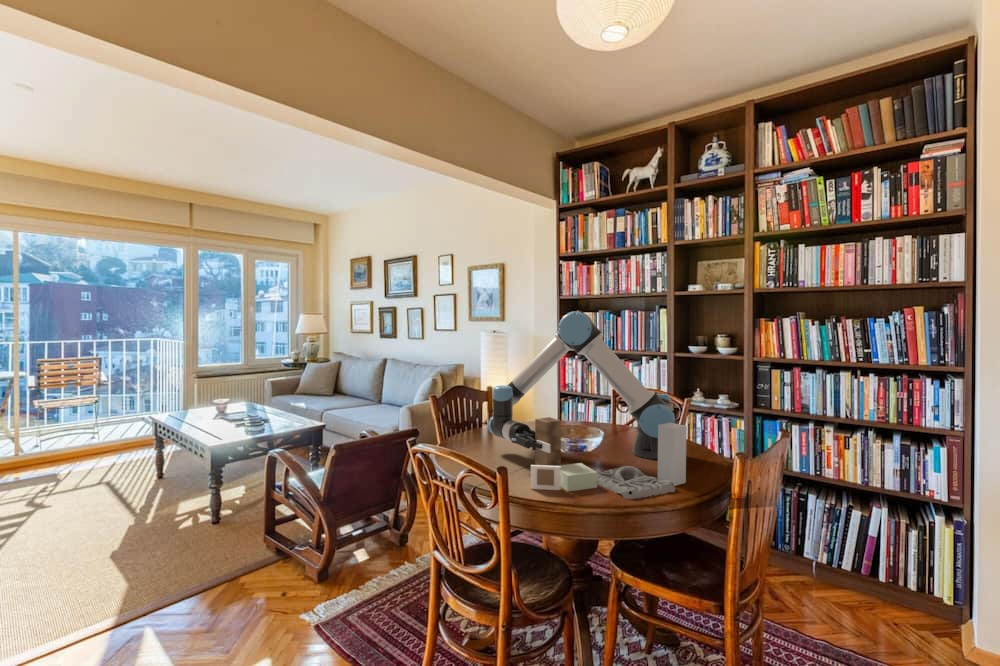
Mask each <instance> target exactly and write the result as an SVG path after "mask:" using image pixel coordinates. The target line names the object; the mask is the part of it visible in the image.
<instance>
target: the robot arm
mask: <svg viewBox="0 0 1000 666" xmlns="http://www.w3.org/2000/svg"><path fill="white" fill-rule="evenodd" d="M557 328H558V330H557V331H556V332H555V333H554V334H555V336H554V338H552V339H551V341H549V342H548V344H547V345H545V346H544V348H543V349H542V350H541V351H540V352H538V354H536V356H535V357H534V358H533V359H531V361H530V362H528V364H527V365H526V366H525V367H524V368H523V369H522V370H521V371H520V372H519V373H518V374H516V376H515V377H514V378H513V379H512V380H511V381H510V383H508V384H507V385H496V386H494V387H493V389H492V416H491V417H490V418H489V420H488V423H487V429H488V431H489V433H491V434H492V435H494V436H495V437H498V438H501V439H504V440H506V441H509V442H511V443H512V444H517V445H519V446H521V447H523V448H525V449H528V450H529V449H531V448H532V449H531V451H535V450H536V448H537V449H539V450H542V451H545V452H547V453H551V444H548V443H545V442H543V441H540V440H535V430H534V429H533V430H532V429H531V428H530V426H529V425H528V424H525V423H524V422H520V421H516V420H514V419H513V406H515V405H516V404H517V403H519V401H521V399H522V398H524V396H525V395H526V394H527V393H528V392H529V391H530V390H531V389H532V388H533V387H534V386H535V385H536V384H537V383H538V382H539V381H540V380H541V379H542V378H544V376H545V375H547V373H548V372H549V371H550V370H551V369H552V368H553V367H554V366H555V365H556V364H557V363H558V362H560V361H561V359H562V358H563V357H564V356H565V355H566V354H567V353H568V352H569V351H573V352H575V353H576V355H583V356H584V357H585V358H586V359H587V361H589V363H590V364H591V365H592V366H593V367H594V368H595V369H596V370H597V371H598V373H599V374H600V375H601V376H602V377H603V378H604V380H605V381H606V382H607V383H608V384H609V385H610V386H611V388H613V390H614V391H615V392H616V393H617V394H618V396H619V397H621V399H622V400H623V401H624V402H625V403H626V404H627V406H628V413H629V414H630V415H631V416H632V418H634V420H635V421H636V422H637V434H636V436H635V439H634V442H633V444H632V445H633V446H632V454H633V455H635V456H638V457H640V458H644V459H651V460H658V425H659V424H665V423H670V422H671V423H675V424H676V416H675V413H674V412H673V410H672V409H671V403H672V402H671V396H670V394H666V393H664V394H663V393H657V392H656V391H655V390H648V389H647V387H645V385H644V384H643V383H642V382H641V381H640V380H639V378H637V377H636V376H635V374H634V373H633V372H632V371H631V370H630V369H629V368H628V366H626V364H625V363H624V362H623V361H622V360H621V359H620V358H619V357H618V356H617V354H616V353H615V352H614V351H613V350H612V349H611V348H610V346H608V345H607V343H606V342H605V341H604V340H603V332H602V331H601V330H600V329H599V328H598V327H597V326H596V324H595V323H594V322H593V320H592V318H591V317H590V316H589V315H588V314H586V313H584V312H581V311H576V310H575V311H570V312H567V313H566V314H565V315H563V317H562V318H561V319H560V321H559V323H558V327H557ZM567 445H568V444H567V440H564V439H561V449H562V450H564V451H566V450H567V447H568V446H567Z"/></svg>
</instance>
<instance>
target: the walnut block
mask: <svg viewBox="0 0 1000 666" xmlns="http://www.w3.org/2000/svg"><path fill="white" fill-rule="evenodd" d="M534 424H535V425H534V426H535V427H534V431H535V440H540V441H543V442H545V443H548V444H551V453H547V452H545V451H542V450H539V449H537V448H536V450H534V454H535V455H534V456H535V457H534V459H535V460H534V465H548V466H558V465H562V464H561V461H562V459H561V458H562V457H561V455H562V453H561V452H562V451H561V440H562V438H561V437H562V430H561V428H562V422H561V419H557V418H554V417H551V416H548V417H542V418H535V419H534Z"/></svg>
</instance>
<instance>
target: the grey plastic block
mask: <svg viewBox="0 0 1000 666" xmlns="http://www.w3.org/2000/svg"><path fill="white" fill-rule="evenodd" d="M686 467H687V425H684V424H679V423H676V422H675V423H671V422H670V423H665V424H659V425H658V459H657V479H658V480H669V481H671V482H672V483H673V484H674V487H676V486H679V485H682V484H686V482H687V478H686V477H687V474H686V473H687V468H686Z"/></svg>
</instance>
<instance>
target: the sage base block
mask: <svg viewBox="0 0 1000 666" xmlns="http://www.w3.org/2000/svg"><path fill="white" fill-rule="evenodd" d="M558 466H561V480H560V488H562V489H564V490H565V491H566V492H573V491H581V490H588V489H589V490H590V489H595V488H598V483H597V472H598V471H597V472H596V470H594V469H593V468H590V467H589V466H587V465H585V464H584V463H583V462H577V463H568V464H561V465H558Z"/></svg>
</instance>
